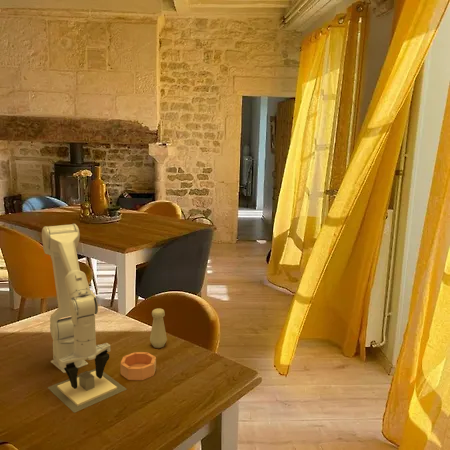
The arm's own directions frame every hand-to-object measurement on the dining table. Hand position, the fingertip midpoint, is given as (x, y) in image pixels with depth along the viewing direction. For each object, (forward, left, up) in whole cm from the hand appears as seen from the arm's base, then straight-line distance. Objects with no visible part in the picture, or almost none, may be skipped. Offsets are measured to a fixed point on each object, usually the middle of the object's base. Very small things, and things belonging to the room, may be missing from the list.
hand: (86, 381), depth 128 cm
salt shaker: (-8, +31, -3) cm, 32 cm away
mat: (0, 0, -2) cm, 2 cm away
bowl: (+2, +16, -2) cm, 16 cm away
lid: (0, 0, -2) cm, 2 cm away
